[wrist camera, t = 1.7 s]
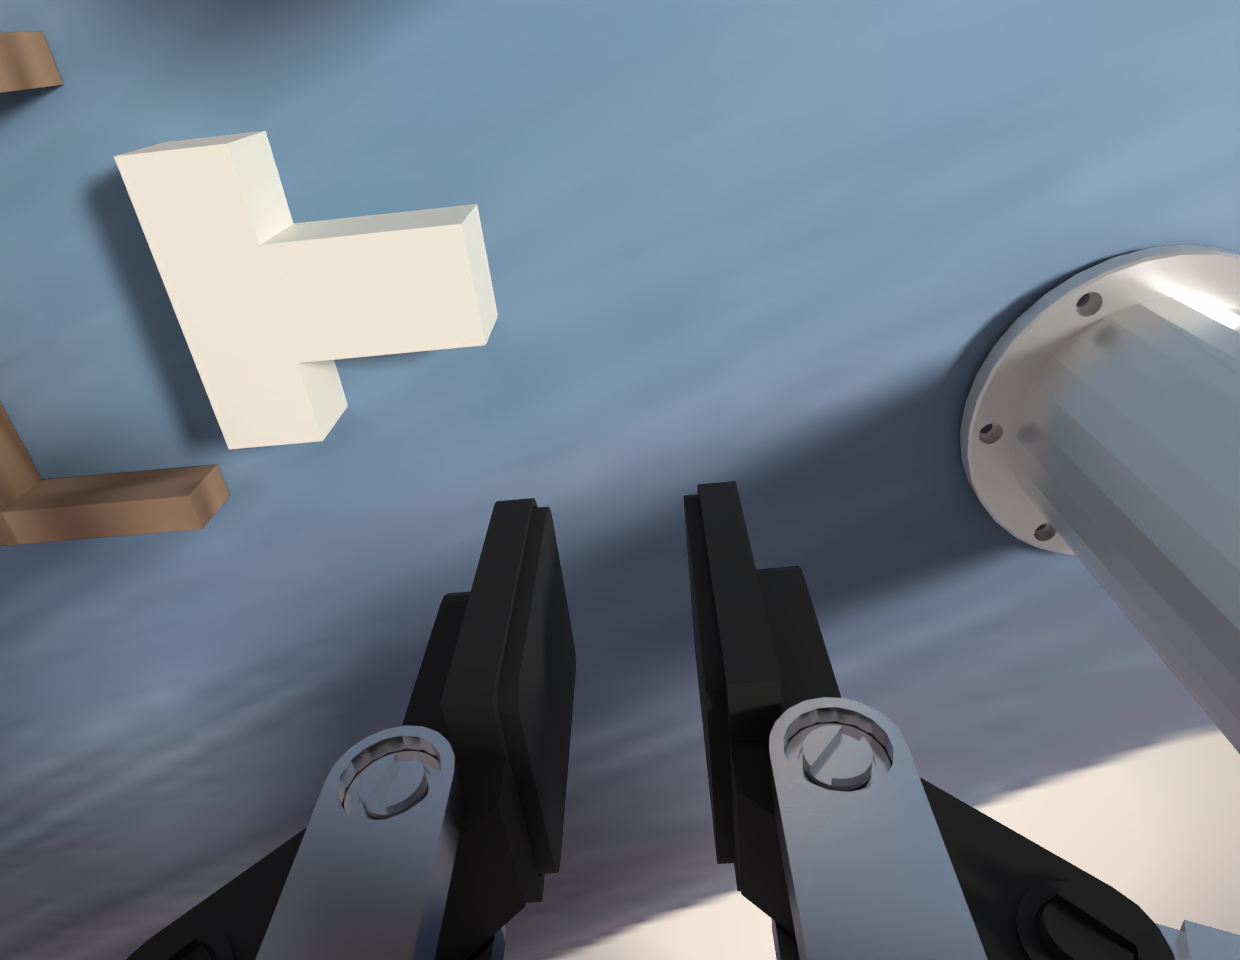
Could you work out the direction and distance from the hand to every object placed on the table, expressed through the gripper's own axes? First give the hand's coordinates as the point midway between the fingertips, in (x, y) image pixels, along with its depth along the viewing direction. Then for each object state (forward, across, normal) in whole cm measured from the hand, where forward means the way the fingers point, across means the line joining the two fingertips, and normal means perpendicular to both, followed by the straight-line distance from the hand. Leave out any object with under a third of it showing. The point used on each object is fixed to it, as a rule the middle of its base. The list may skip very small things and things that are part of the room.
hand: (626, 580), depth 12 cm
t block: (+19, +10, 0) cm, 22 cm away
